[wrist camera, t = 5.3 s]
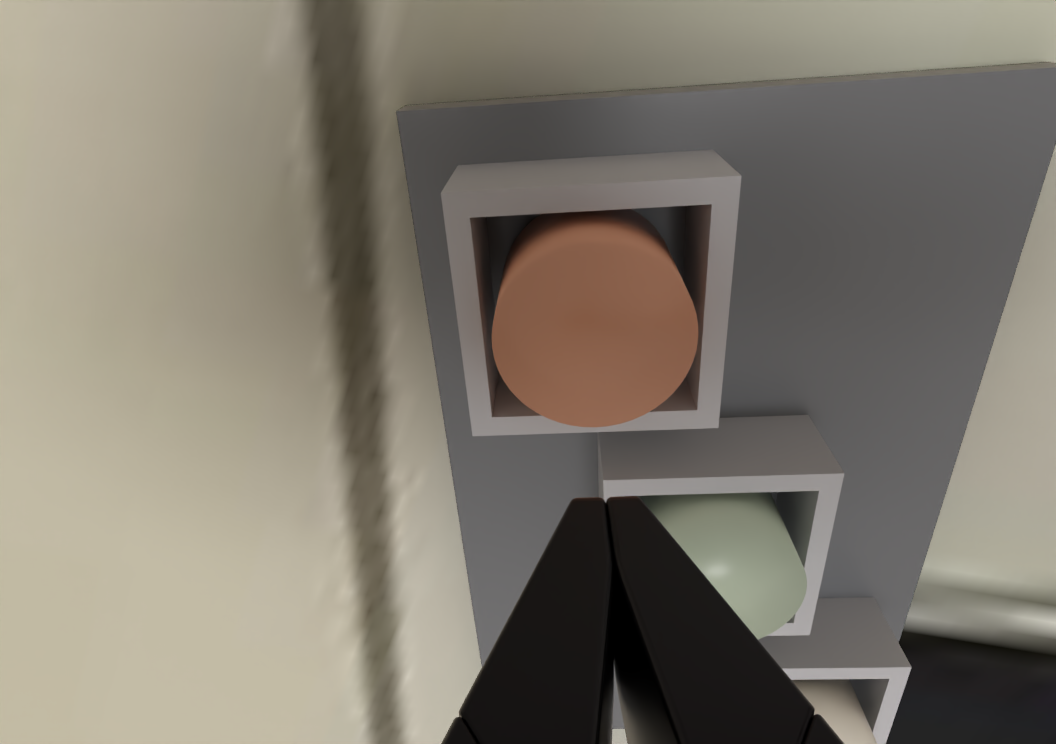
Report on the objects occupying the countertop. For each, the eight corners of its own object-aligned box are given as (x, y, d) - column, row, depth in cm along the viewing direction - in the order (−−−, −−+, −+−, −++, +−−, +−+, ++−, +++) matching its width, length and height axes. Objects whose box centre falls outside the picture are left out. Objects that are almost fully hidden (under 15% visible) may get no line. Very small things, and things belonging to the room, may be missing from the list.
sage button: (779, 450, 17) (819, 529, 15) (762, 560, 19) (795, 646, 17) (628, 455, 18) (641, 533, 15) (626, 562, 20) (638, 648, 17)
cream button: (862, 655, 20) (909, 755, 17) (840, 734, 22) (879, 834, 19) (728, 657, 20) (754, 754, 17) (718, 735, 22) (740, 834, 19)
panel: (1047, 61, 14) (1184, 77, 11) (860, 701, 25) (903, 800, 22) (405, 105, 15) (366, 130, 12) (493, 704, 26) (485, 799, 23)
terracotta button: (677, 194, 14) (705, 236, 12) (670, 356, 16) (692, 424, 14) (495, 204, 14) (481, 248, 12) (509, 362, 16) (501, 430, 14)
